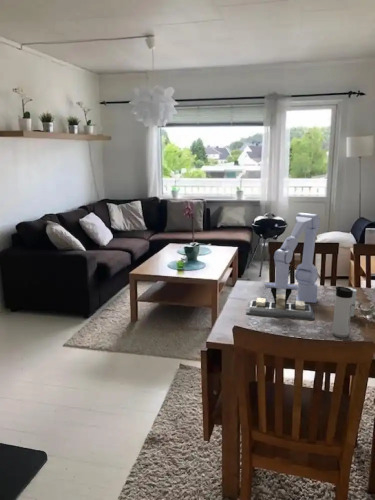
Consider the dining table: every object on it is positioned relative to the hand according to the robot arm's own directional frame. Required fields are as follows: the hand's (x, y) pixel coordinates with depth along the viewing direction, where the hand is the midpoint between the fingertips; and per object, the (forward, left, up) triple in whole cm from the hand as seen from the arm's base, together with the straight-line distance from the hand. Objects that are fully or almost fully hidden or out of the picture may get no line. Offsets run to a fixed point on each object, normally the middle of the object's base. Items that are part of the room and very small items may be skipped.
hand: (280, 303), depth 191 cm
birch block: (0, 0, -2) cm, 2 cm away
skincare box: (-30, -4, -4) cm, 31 cm away
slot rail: (0, 0, -4) cm, 4 cm away
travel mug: (-24, +20, -4) cm, 32 cm away
